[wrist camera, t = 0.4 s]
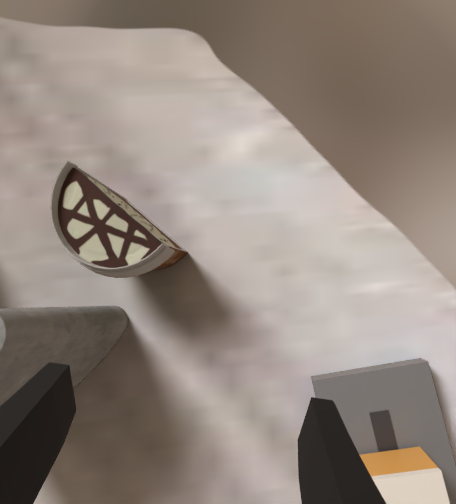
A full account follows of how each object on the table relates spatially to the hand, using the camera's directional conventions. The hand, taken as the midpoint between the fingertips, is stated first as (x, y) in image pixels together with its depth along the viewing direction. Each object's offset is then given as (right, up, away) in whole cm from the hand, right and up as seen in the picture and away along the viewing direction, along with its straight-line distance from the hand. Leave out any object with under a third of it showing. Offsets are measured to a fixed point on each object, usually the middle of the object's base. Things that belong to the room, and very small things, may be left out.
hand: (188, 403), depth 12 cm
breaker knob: (+15, -14, +21) cm, 29 cm away
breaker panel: (+15, -14, +23) cm, 31 cm away
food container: (-8, +5, +30) cm, 31 cm away
